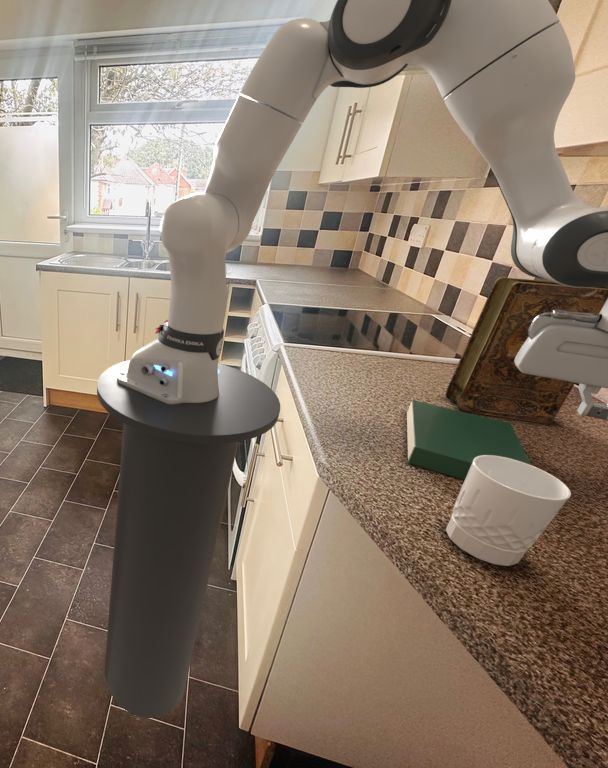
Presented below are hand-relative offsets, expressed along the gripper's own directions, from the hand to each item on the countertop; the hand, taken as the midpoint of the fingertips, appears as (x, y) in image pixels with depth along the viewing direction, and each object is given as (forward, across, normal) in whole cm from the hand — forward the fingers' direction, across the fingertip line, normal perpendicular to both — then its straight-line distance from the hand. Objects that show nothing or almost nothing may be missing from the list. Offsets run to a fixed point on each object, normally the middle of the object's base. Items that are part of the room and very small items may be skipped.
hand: (592, 416), depth 58 cm
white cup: (+10, -12, -25) cm, 30 cm away
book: (+10, -4, +23) cm, 26 cm away
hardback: (+10, -12, 0) cm, 16 cm away
